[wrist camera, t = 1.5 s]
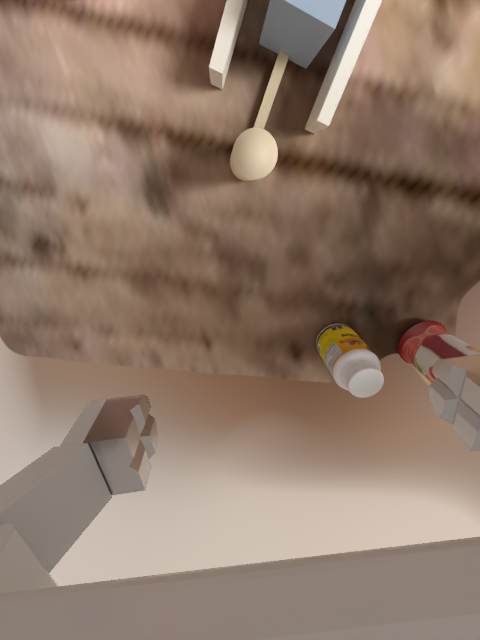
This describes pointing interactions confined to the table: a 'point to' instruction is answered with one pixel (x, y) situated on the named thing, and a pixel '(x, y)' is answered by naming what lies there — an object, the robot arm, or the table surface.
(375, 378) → the supplement bottle
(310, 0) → the block
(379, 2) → the white u-shaped wall
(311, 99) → the table surface
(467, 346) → the liquor
